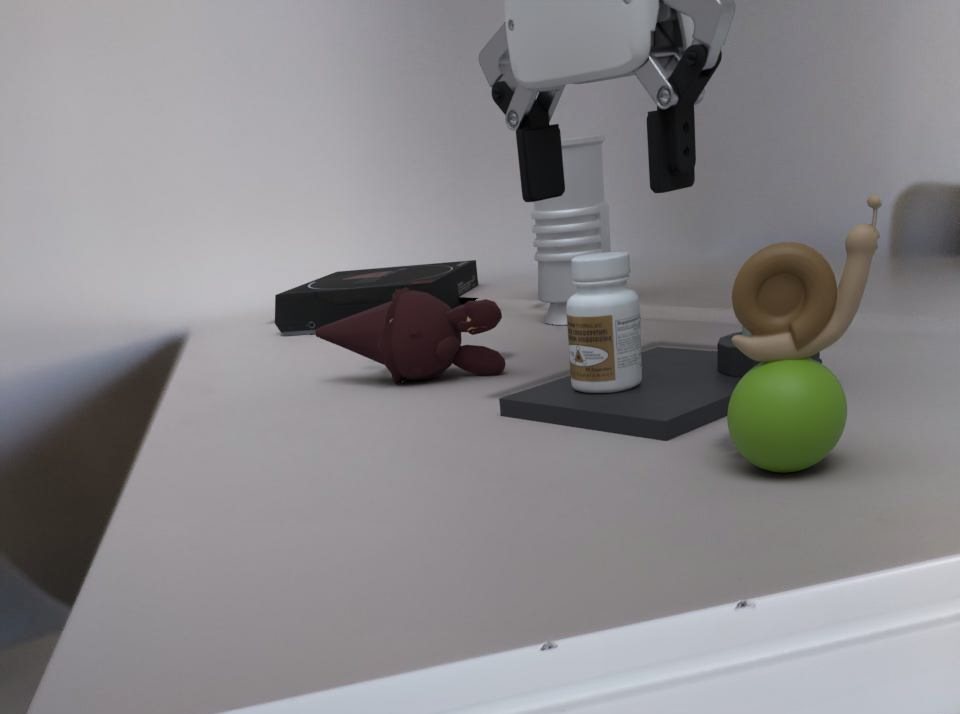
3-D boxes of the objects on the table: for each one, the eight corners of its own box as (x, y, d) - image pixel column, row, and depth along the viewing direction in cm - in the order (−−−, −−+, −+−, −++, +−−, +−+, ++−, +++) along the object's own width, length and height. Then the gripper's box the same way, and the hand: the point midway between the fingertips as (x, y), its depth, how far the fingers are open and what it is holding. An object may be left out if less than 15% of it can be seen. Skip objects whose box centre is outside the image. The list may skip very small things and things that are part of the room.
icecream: (285, 309, 74) (485, 316, 70) (325, 267, 79) (514, 272, 75) (305, 396, 78) (494, 408, 74) (342, 352, 84) (520, 360, 79)
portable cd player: (337, 308, 119) (331, 272, 117) (479, 298, 114) (475, 260, 113) (277, 336, 105) (269, 295, 103) (436, 325, 100) (431, 282, 98)
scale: (658, 363, 75) (657, 320, 73) (837, 379, 65) (839, 330, 64) (500, 417, 65) (495, 369, 64) (682, 444, 56) (681, 389, 54)
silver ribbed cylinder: (594, 325, 91) (583, 137, 85) (525, 326, 95) (510, 146, 88) (626, 311, 96) (619, 133, 90) (560, 312, 100) (549, 140, 93)
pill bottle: (557, 390, 65) (547, 260, 61) (604, 375, 67) (597, 250, 64) (609, 397, 62) (602, 261, 58) (657, 381, 64) (652, 250, 61)
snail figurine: (874, 484, 47) (893, 198, 42) (729, 490, 48) (730, 214, 43) (857, 449, 52) (872, 189, 46) (725, 456, 53) (725, 204, 48)
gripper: (770, -220, 48) (772, 176, 56) (512, -122, 60) (541, 194, 68) (672, -236, 44) (688, 196, 52) (415, -127, 56) (458, 211, 64)
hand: (605, 194), depth 60 cm, fingers open, 9 cm apart
